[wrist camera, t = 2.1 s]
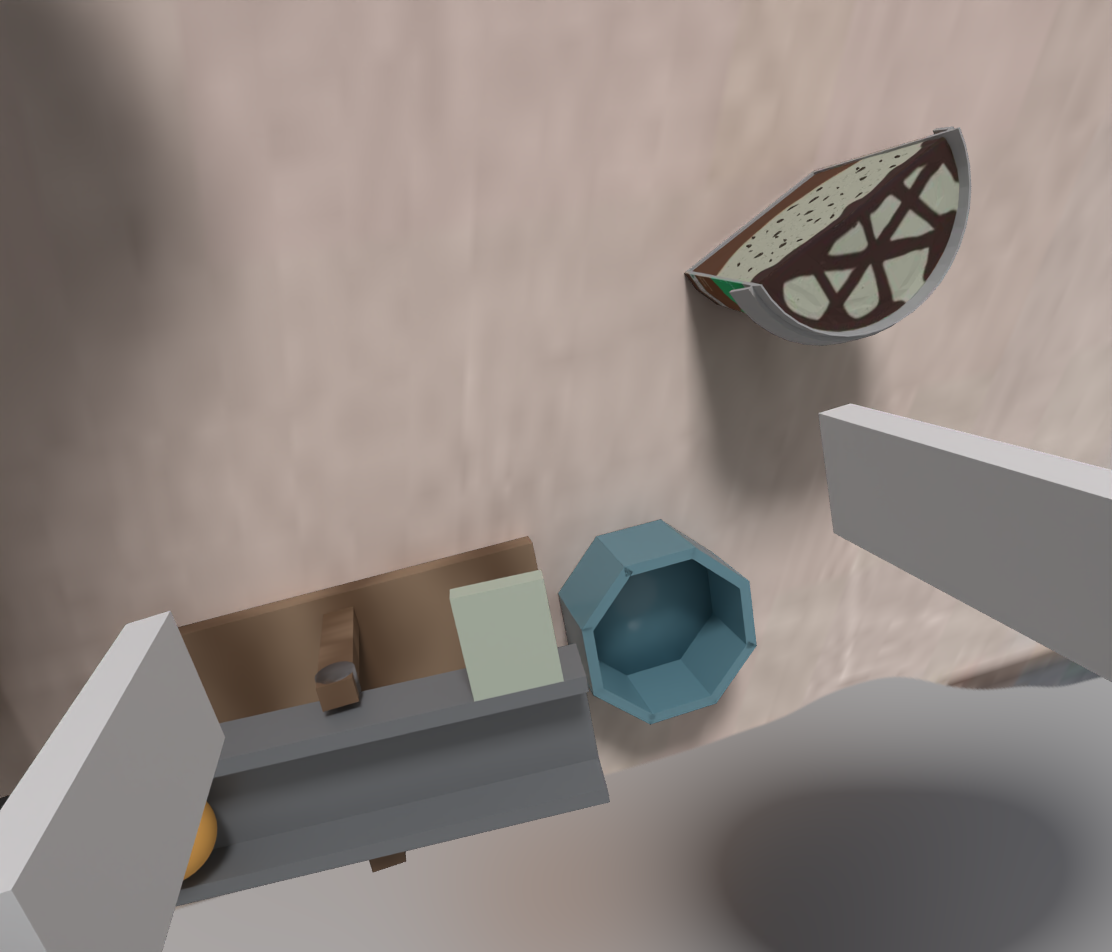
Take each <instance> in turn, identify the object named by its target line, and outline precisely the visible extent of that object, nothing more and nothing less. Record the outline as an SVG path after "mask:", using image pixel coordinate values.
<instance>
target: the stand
mask: <svg viewBox="0 0 1112 952" xmlns="http://www.w3.org/2000/svg"><path fill="white" fill-rule="evenodd" d="M536 570H538V568H537V563H536V558H535V553H534V548H533V543H532V542H531V540H530V538H529V537H528V536H527V537H523V538H519V539H515V540H511V541H508V542H504V543H500V544H496V545H492V546H488V547H485V548H481V549H477V550H473V551H469V552H465V553H462V554H458V555H454V556H450V557H446V558H442V559H439V560H435V561H431V562H427V563H423V564H419V565H416V566H412V567H408V568H404V569H400V570H396V571H393V572H389V573H385V574H381V575H377V576H373V577H370V578H366V579H362V580H358V581H354V582H350V583H347V584H343V585H339V586H335V587H331V588H327V589H323V590H320V591H316V592H312V593H308V594H304V595H300V596H297V597H293V598H289V599H285V600H281V601H277V602H274V603H270V604H266V605H262V606H258V607H254V608H251V609H247V610H243V611H239V612H235V613H231V614H228V615H224V616H220V617H216V618H212V619H208V620H205V621H201V622H197V623H193V624H189V625H185V626H182V627H178V629H179V631H180V634H181V636H182V638H183V641H184V643H185V645H186V648H187V650H188V652H189V655H190V657H191V659H192V662H193V664H194V666H195V669H196V671H197V673H198V676H199V678H200V680H201V683H202V685H203V687H204V689H205V692H206V694H207V696H208V699H209V701H210V703H211V706H212V708H213V710H214V713H215V715H216V717H217V720H218V722H219V723H223V722H228V721H232V720H237V719H241V718H246V717H250V716H255V715H259V714H263V713H268V712H272V711H277V710H281V709H286V708H290V707H295V706H299V705H304V704H308V703H312V702H317V701H320V704H321V708H322V711H323V712H324V711H328V710H331V709H335V708H338V707H342V706H345V705H348V704H352V703H355V702H359V694H360V692H361V691H366V690H370V689H375V688H379V687H384V686H388V685H393V684H397V683H401V682H406V681H410V680H415V679H419V678H424V677H428V676H433V675H437V674H442V673H446V672H450V671H455V670H459V669H464V668H466V665H465V661H464V657H463V653H462V649H461V645H460V640H459V636H458V632H457V628H456V624H455V620H454V616H453V612H452V607H451V603H450V589H453V588H458V587H463V586H467V585H472V584H476V583H481V582H486V581H490V580H495V579H499V578H504V577H509V576H513V575H518V574H523V573H527V572H532V571H536ZM405 853H406V851H404V852H400V853H396V854H392V855H387V856H383V857H379V858H375V859H371V860H369V861H370V865H371V868H372V871H373V872H376V871H379V870H381V869H385V868H388V867H391V866H394V865H397V864H400V863H403V862H406V855H405Z"/></svg>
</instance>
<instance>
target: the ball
mask: <svg viewBox="0 0 1112 952" xmlns="http://www.w3.org/2000/svg"><path fill="white" fill-rule="evenodd" d="M216 837H217V820H216V817H215V813H214V811H213V809H212V808H211V806H210V805H209V803H208V802H207V801H206V804H205V807H204V811H203V814H202V818H201V821H200V824H199V828H198V831H197V835H196V838H195V841H194V845H193V848H192V852H191V855H190V858H189V862H188V865H187V869H186V872H185V876H184V879H186V878H188V877H189V876H191V875H192V874H194V873H195V872H196V871H197V870H198V869H199V868H200V867H201V866H202V865H203V864H204V863H205V862H206V860H207V859H208V857H209V856H210V854H211V852H212V850H213V848H214V845H215V842H216ZM184 879H183V880H184Z"/></svg>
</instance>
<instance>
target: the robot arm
mask: <svg viewBox="0 0 1112 952" xmlns="http://www.w3.org/2000/svg"><path fill="white" fill-rule="evenodd" d="M818 414H819V422H820V430H821V438H822V446H823V453H824V461H825V469H826V477H827V484H828V492H829V500H830V508H831V516H832V523H833V531H834V533H835V534H837V535H839V536H841V537H842V538H844V539H846V540H848V541H850V542H852V543H854V544H855V545H857V546H859V547H861V548H863V549H865V550H867V551H869V552H870V553H872V554H874V555H876V556H878V557H880V558H882V559H883V560H885V561H887V562H889V563H891V564H893V565H895V566H896V567H898V568H900V569H902V570H904V571H906V572H908V573H909V574H911V575H913V576H915V577H917V578H919V579H921V580H923V581H924V582H926V583H928V584H930V585H932V586H934V587H936V588H937V589H939V590H941V591H943V592H945V593H947V594H949V595H950V596H952V597H954V598H956V599H958V600H960V601H962V602H964V603H965V604H967V605H969V606H971V607H973V608H975V609H977V610H978V611H980V612H982V613H984V614H986V615H988V616H990V617H991V618H993V619H995V620H997V621H999V622H1001V623H1003V624H1005V625H1006V626H1008V627H1010V628H1012V629H1014V630H1016V631H1018V632H1019V633H1021V634H1023V635H1025V636H1027V637H1029V638H1031V639H1032V640H1034V641H1036V642H1038V643H1040V644H1042V645H1044V646H1045V647H1047V648H1049V649H1051V650H1053V651H1055V652H1057V653H1059V654H1060V655H1062V656H1064V657H1066V658H1068V659H1070V660H1072V661H1073V662H1075V663H1077V664H1079V665H1081V666H1083V667H1085V668H1086V669H1088V670H1090V671H1092V672H1094V673H1096V674H1098V675H1100V676H1101V677H1103V678H1105V679H1107V680H1109V681H1111V682H1112V470H1110V469H1107V468H1103V467H1099V466H1095V465H1091V464H1087V463H1083V462H1079V461H1075V460H1071V459H1067V458H1063V457H1059V456H1055V455H1052V454H1048V453H1044V452H1040V451H1036V450H1032V449H1028V448H1024V447H1020V446H1016V445H1012V444H1008V443H1004V442H1000V441H996V440H993V439H989V438H985V437H981V436H977V435H973V434H969V433H965V432H961V431H957V430H953V429H949V428H945V427H941V426H938V425H934V424H930V423H926V422H922V421H918V420H914V419H910V418H906V417H902V416H898V415H894V414H890V413H886V412H883V411H879V410H875V409H871V408H867V407H863V406H859V405H855V404H851V403H850V404H847V405H844V406H840V407H837V408H834V409H830V410H827V411H824V412H821V413H818ZM224 739H225V736H224V734H223V731H222V729H221V727H220V724H219V722H218V720H217V717H216V715H215V713H214V710H213V708H212V706H211V703H210V701H209V699H208V696H207V694H206V692H205V689H204V687H203V685H202V683H201V680H200V678H199V676H198V673H197V671H196V669H195V666H194V664H193V662H192V659H191V657H190V655H189V652H188V650H187V648H186V645H185V643H184V641H183V638H182V636H181V634H180V631H179V629H178V627H177V624H176V622H175V620H174V617H173V615H172V613H171V611H168V612H164V613H161V614H158V615H154V616H151V617H148V618H145V619H141V620H138V621H135V622H131V623H128V624H126V625H125V627H124V628H123V630H122V631H121V632H120V634H119V635H118V637H117V638H116V640H115V641H114V643H113V644H112V646H111V647H110V649H109V650H108V652H107V653H106V655H105V656H104V658H103V659H102V661H101V662H100V664H99V665H98V666H97V668H96V669H95V671H94V672H93V674H92V675H91V677H90V678H89V680H88V681H87V683H86V684H85V686H84V687H83V689H82V690H81V692H80V693H79V695H78V696H77V697H76V699H75V700H74V702H73V703H72V705H71V706H70V708H69V709H68V711H67V712H66V714H65V715H64V717H63V718H62V720H61V721H60V723H59V724H58V726H57V727H56V729H55V730H54V731H53V733H52V734H51V736H50V737H49V739H48V740H47V742H46V743H45V745H44V746H43V748H42V749H41V751H40V752H39V754H38V755H37V757H36V758H35V760H34V761H33V763H32V764H31V765H30V767H29V768H28V770H27V771H26V773H25V774H24V776H23V777H22V779H21V780H20V782H19V783H18V785H17V786H16V788H15V789H14V791H13V792H12V794H11V795H9V796H6V797H3V798H0V952H162V950H163V947H164V943H165V940H166V937H167V933H168V930H169V927H170V923H171V920H172V916H173V913H174V910H175V906H176V903H177V899H178V896H179V893H180V889H181V886H182V882H183V879H184V876H185V872H186V869H187V865H188V862H189V858H190V855H191V852H192V848H193V845H194V841H195V838H196V835H197V831H198V828H199V824H200V821H201V818H202V814H203V811H204V807H205V804H206V801H207V797H208V794H209V790H210V787H211V784H212V780H213V777H214V773H215V770H216V767H217V763H218V760H219V756H220V753H221V750H222V746H223V743H224Z"/></svg>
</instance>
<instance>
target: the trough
mask: <svg viewBox="0 0 1112 952" xmlns="http://www.w3.org/2000/svg"><path fill="white" fill-rule="evenodd" d="M450 603H451V607H452V612H453V616H454V620H455V624H456V628H457V632H458V636H459V640H460V645H461V649H462V653H463V657H464V661H465V665H466V668H464V669H459V670H455V671H450V672H446V673H442V674H437V675H433V676H428V677H424V678H419V679H415V680H410V681H406V682H401V683H397V684H393V685H388V686H384V687H379V688H375V689H370V690H366V691H361V692H360V694H359V702H355V703H352V704H348V705H345V706H342V707H338V708H335V709H331V710H328V711H324V712H323V711H322V708H321V704H320V701H317V702H312V703H308V704H304V705H299V706H295V707H290V708H286V709H281V710H277V711H272V712H268V713H263V714H259V715H255V716H250V717H246V718H241V719H237V720H232V721H228V722H223V723H219V724H220V727H221V729H222V731H223V734H224V736H225V739H224V743H223V746H222V750H221V753H220V756H219V760H218V763H217V767H216V770H215V773H214V777H213V780H212V784H211V787H210V790H209V794H208V797H207V802H208V803H209V805H210V806H211V808H212V809H213V811H214V813H215V817H216V820H217V837H216V842H215V845H214V848H213V850H212V852H211V854H210V856H209V857H208V859H207V860H206V862H205V863H204V864H203V865H202V866H201V867H200V868H199V869H198V870H197V871H196V872H195V873H194V874H192V875H191V876H189V877H188V878H186V879H184V880H183V882H182V886H181V889H180V893H179V896H178V899H177V903H176V906H179V905H183V904H188V903H192V902H196V901H200V900H204V899H208V898H213V897H217V896H221V895H225V894H229V893H233V892H238V891H242V890H246V889H250V888H254V887H258V886H263V885H267V884H271V883H275V882H279V881H283V880H287V879H292V878H296V877H300V876H304V875H308V874H312V873H317V872H321V871H325V870H329V869H333V868H337V867H342V866H346V865H350V864H354V863H358V862H362V861H367V860H371V859H375V858H379V857H383V856H387V855H392V854H396V853H400V852H404V851H408V850H412V849H417V848H421V847H425V846H429V845H433V844H437V843H441V842H446V841H450V840H454V839H458V838H462V837H467V836H471V835H475V834H479V833H483V832H487V831H491V830H496V829H500V828H504V827H508V826H512V825H516V824H520V823H525V822H529V821H533V820H537V819H541V818H546V817H550V816H554V815H558V814H562V813H566V812H571V811H575V810H579V809H583V808H587V807H591V806H595V805H600V804H604V803H608V802H610V800H609V794H608V790H607V785H606V782H605V778H604V775H603V771H602V768H601V764H600V761H599V757H598V751H597V746H596V741H595V736H594V730H593V725H592V720H591V715H590V710H589V704H588V699H587V694H586V692H589V689H588V684H587V679H586V674H585V671H584V668H583V665H582V661H581V658H580V655H579V652H578V649H577V645H576V643H575V644H571V645H566V646H562V647H557V644H556V639H555V634H554V629H553V624H552V619H551V614H550V609H549V604H548V599H547V594H546V589H545V584H544V579H543V575H542V572H541V570H536V571H532V572H527V573H523V574H518V575H513V576H509V577H504V578H499V579H495V580H490V581H486V582H481V583H476V584H472V585H467V586H463V587H458V588H453V589H450Z"/></svg>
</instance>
